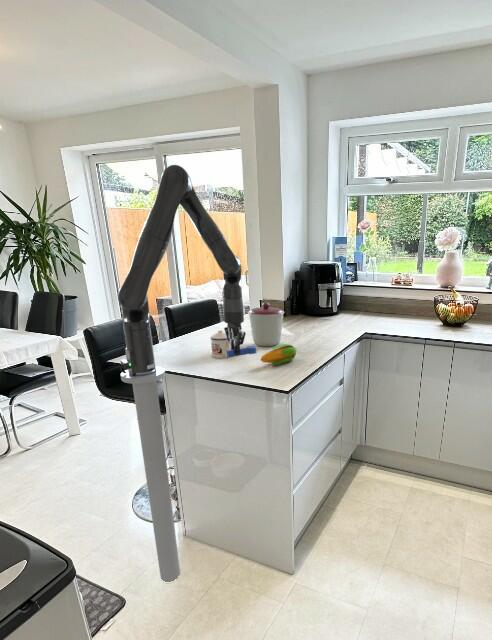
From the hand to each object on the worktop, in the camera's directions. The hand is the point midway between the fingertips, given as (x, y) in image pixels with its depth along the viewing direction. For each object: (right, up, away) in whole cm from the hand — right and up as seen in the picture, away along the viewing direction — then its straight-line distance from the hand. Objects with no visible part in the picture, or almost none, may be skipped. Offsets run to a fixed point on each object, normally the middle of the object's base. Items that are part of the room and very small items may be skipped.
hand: (235, 353), depth 156 cm
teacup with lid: (-9, +1, +24) cm, 26 cm away
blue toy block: (+2, 0, +2) cm, 3 cm away
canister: (+8, +8, +46) cm, 48 cm away
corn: (+16, -3, +14) cm, 22 cm away
